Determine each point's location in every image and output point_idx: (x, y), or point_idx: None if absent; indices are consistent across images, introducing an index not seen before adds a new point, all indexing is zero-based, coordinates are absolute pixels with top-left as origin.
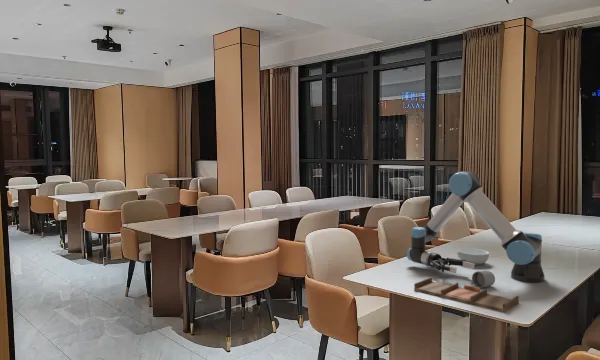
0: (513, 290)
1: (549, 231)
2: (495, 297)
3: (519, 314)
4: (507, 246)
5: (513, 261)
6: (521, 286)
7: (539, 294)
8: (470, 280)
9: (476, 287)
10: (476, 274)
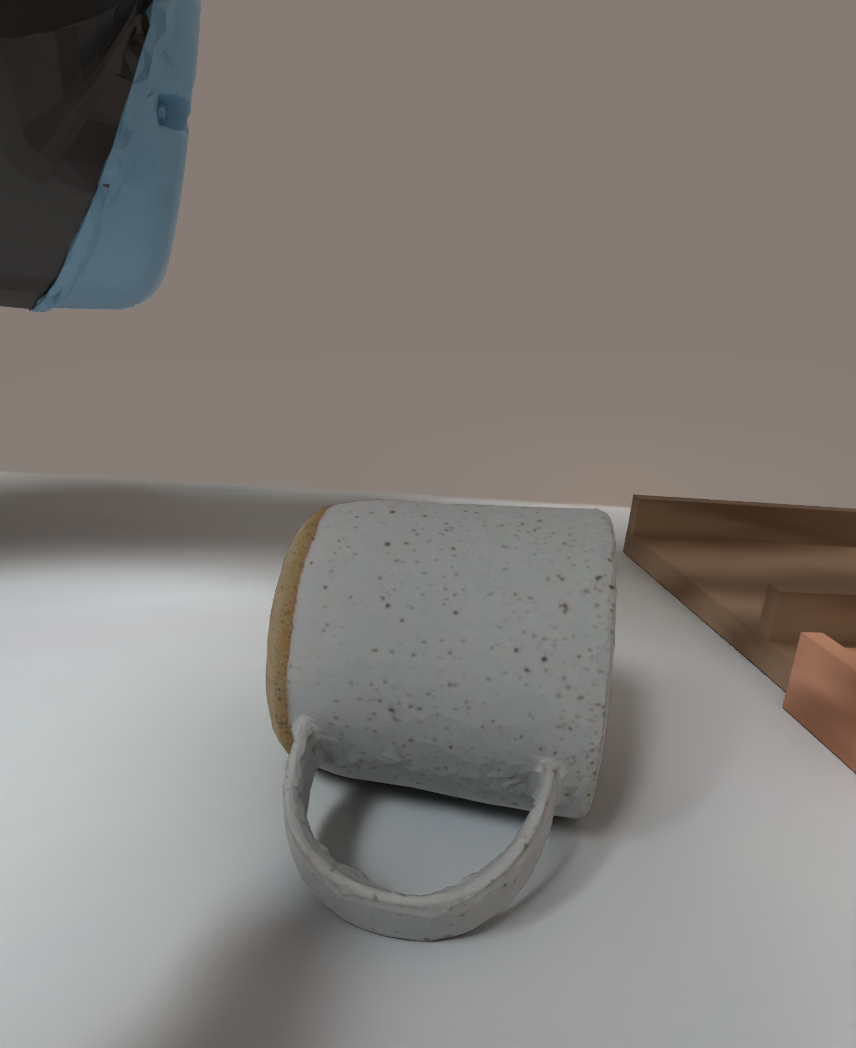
0: None
1: None
2: (757, 590)
3: None
4: (124, 19)
5: (164, 273)
6: (79, 582)
7: (266, 521)
8: (509, 874)
9: (838, 651)
10: (508, 643)
